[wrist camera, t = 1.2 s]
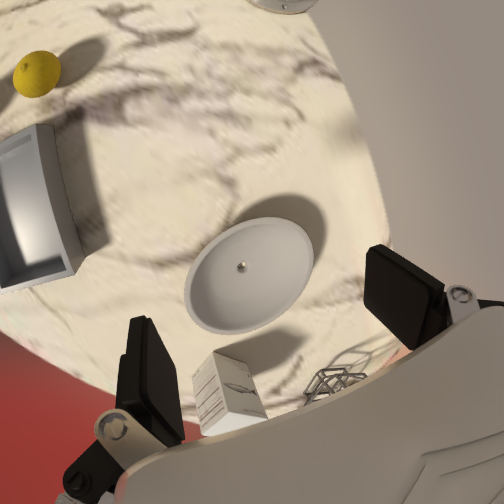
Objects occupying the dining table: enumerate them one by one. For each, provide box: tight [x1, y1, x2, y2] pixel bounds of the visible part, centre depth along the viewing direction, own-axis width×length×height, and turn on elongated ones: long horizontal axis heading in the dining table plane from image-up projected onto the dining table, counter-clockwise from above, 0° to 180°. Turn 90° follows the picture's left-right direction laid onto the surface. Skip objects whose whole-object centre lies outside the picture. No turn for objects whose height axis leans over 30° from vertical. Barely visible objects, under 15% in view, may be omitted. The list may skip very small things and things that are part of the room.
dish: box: [184, 217, 314, 335], centre depth 35 cm, size 18×14×5 cm
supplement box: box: [192, 352, 268, 437], centre depth 38 cm, size 7×7×13 cm
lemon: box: [13, 51, 61, 98], centre depth 17 cm, size 6×6×8 cm
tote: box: [0, 124, 86, 295], centre depth 23 cm, size 18×14×5 cm
